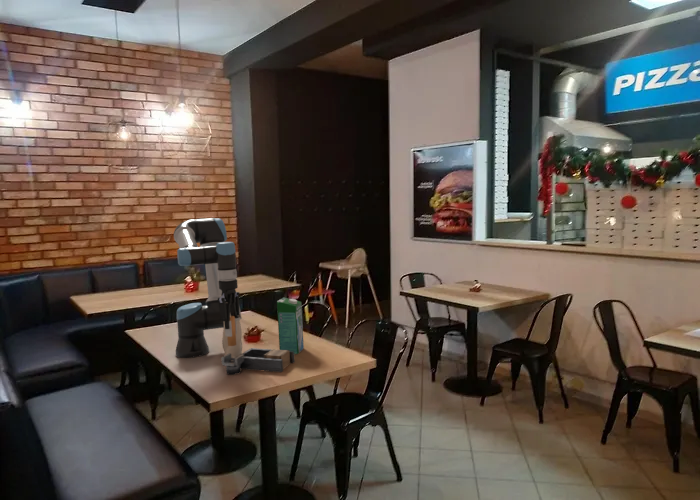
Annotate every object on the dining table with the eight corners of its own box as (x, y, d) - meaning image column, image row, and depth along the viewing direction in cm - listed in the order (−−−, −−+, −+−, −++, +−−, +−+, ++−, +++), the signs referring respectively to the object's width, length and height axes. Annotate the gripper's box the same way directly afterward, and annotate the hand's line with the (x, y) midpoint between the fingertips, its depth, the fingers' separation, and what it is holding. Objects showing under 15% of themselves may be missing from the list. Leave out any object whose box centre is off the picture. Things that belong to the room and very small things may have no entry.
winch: (221, 374, 217) (220, 358, 216) (230, 368, 224) (229, 352, 223) (236, 375, 214) (235, 359, 213) (246, 369, 221) (245, 353, 220)
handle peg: (233, 346, 215) (231, 317, 214) (226, 345, 216) (224, 317, 215) (237, 343, 218) (236, 316, 217) (230, 343, 220) (228, 315, 218)
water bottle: (249, 355, 241) (245, 296, 237) (238, 361, 232) (235, 300, 229) (229, 354, 244) (226, 295, 241) (219, 360, 236) (215, 299, 232)
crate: (264, 368, 222) (264, 354, 221) (273, 362, 230) (272, 349, 229) (281, 370, 219) (281, 356, 219) (290, 363, 227) (289, 350, 226)
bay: (236, 368, 223) (236, 357, 223) (252, 358, 236) (251, 348, 235) (281, 372, 217) (280, 360, 216) (294, 362, 229) (294, 351, 228)
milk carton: (298, 354, 240) (295, 301, 237) (279, 353, 242) (276, 301, 239) (303, 348, 249) (301, 297, 246) (285, 347, 250) (283, 296, 248)
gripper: (224, 283, 205) (228, 340, 208) (245, 276, 221) (249, 330, 223) (208, 282, 208) (212, 339, 210) (230, 276, 223) (234, 329, 226)
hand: (231, 334), depth 217 cm, fingers closed on handle peg, 3 cm apart
